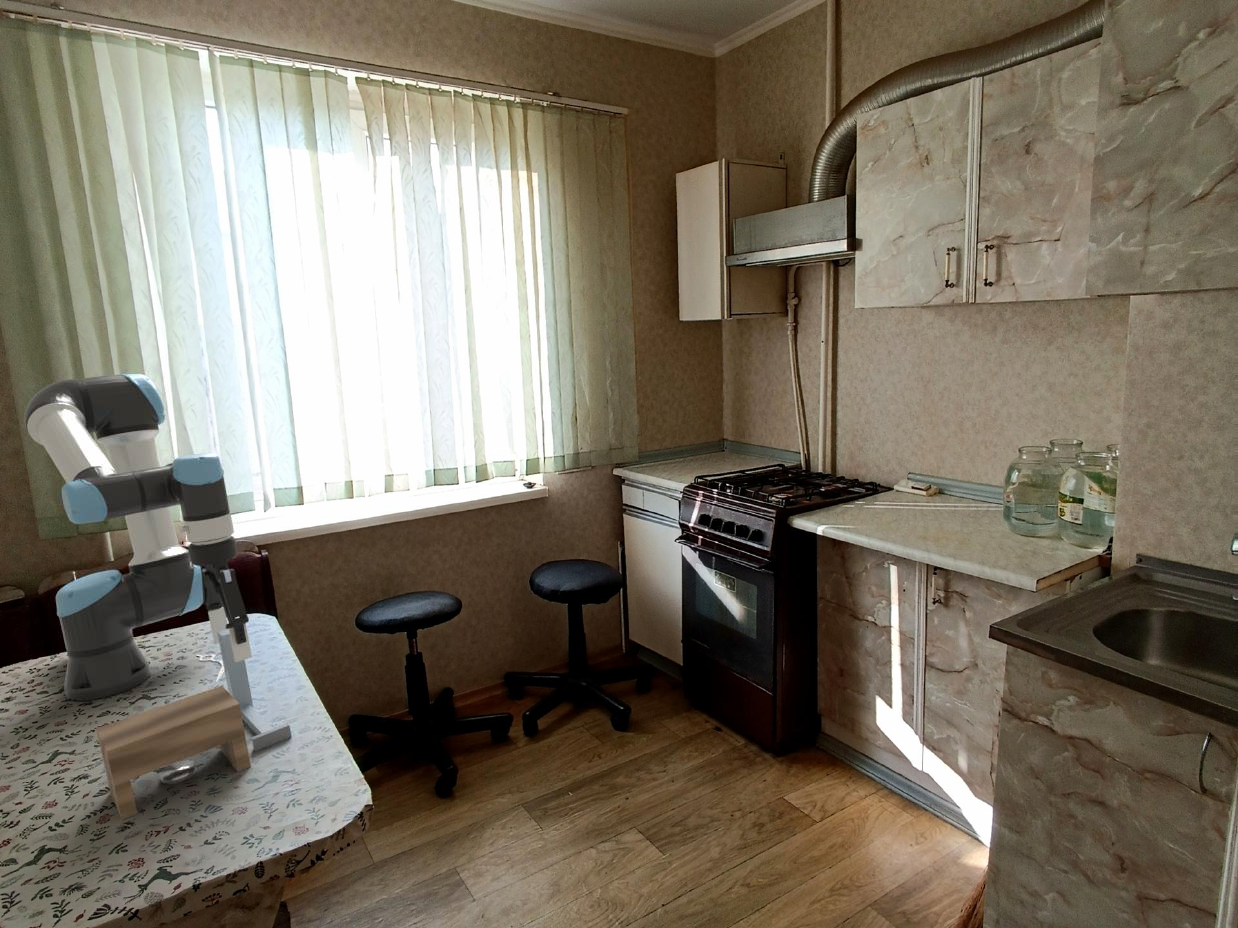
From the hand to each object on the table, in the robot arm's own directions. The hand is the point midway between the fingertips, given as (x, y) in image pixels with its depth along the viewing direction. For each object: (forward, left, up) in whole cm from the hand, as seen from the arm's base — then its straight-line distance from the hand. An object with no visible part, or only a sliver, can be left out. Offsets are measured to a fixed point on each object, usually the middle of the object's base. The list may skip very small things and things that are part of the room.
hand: (232, 650), depth 140 cm
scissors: (-28, +4, -13) cm, 31 cm away
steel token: (+15, -14, -13) cm, 24 cm away
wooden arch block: (+17, -14, -12) cm, 25 cm away
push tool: (+8, 0, -12) cm, 15 cm away
